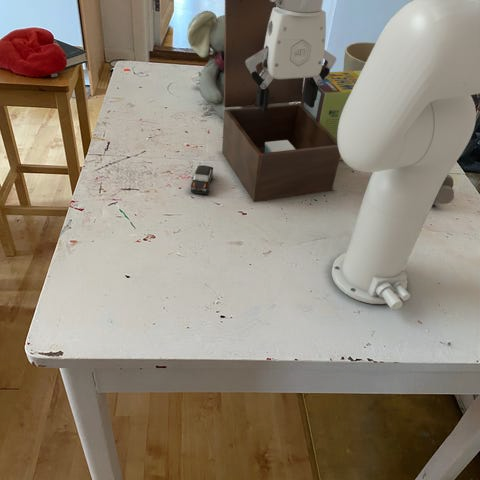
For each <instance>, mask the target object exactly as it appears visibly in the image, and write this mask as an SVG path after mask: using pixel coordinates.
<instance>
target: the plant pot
mask: <svg viewBox="0 0 480 480" xmlns="http://www.w3.org/2000/svg"><path fill="white" fill-rule="evenodd" d="M375 44H376V42H369V41H361V42H353V43H350V44H348V45H347V46H345V49H344V56H343V57H344V58H343V70H342V72H345V71H362V69H363V67H364V65H365V63H366V62H367V60H368V58H369V56H370V54H371V52H372V50H373V48H374V46H375Z"/></svg>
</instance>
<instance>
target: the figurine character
mask: <svg viewBox="0 0 480 480" xmlns="http://www.w3.org/2000/svg"><path fill="white" fill-rule="evenodd" d="M454 184H455V183H454V178H453V177H452V175H450V174H448V175H447V177H446V178H445V180H444V182H443V184H442V186H441V188H440V190H439V192H438V194H437V196H436V198H435V200H434V201H435V202H437V203H438V204H442V205H443V204H444V205H446V204H449V203H451V202H452V201H453V200H454V198H455V191H454V188H453V187H454ZM437 207H438V206H436V204H434V203H433V205H432V207H431V208H437Z"/></svg>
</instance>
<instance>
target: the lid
mask: <svg viewBox="0 0 480 480" xmlns="http://www.w3.org/2000/svg"><path fill="white" fill-rule="evenodd" d="M274 7H276V4H275V2H270V0H224V15H225V41H224V107H238V106H245V107H250V106H251V107H252V106H254V105H257V102H256V98H257V87H258V84H257V83H256V82H255V81H254V80H253V79H252V77H251V76H250V75H249V71H248V69H247V66H246V64H245V61H246V60H247V59H248V58H250V57H251V56H253V55H254V54H256V53H258V52H259V51H261V50H262V49H264V44H265V38H266V33H267V28H268V24H269V20H270V16H271V13H272V9H273V8H274ZM262 62H263V61H262ZM262 62H261V63H259V64H258V65H257V66H256V69H257V72H258V74H260V73H261V71H262V70H263V65H262ZM304 80H305V78H295V79H275V78H274V79H273V80H272V81H271V82H270V84H269V85H268V86H267V88H268V89H269V99H268V104H276V103H289V104H290V103H301V100H302V92H303V86H304Z"/></svg>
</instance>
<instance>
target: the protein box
mask: <svg viewBox="0 0 480 480" xmlns="http://www.w3.org/2000/svg"><path fill="white" fill-rule="evenodd" d="M360 73H361V71H345V72H343V71H330V73H329V74H328V75H327V76H326V77H325V78H324V79H323V80H322V84H321V85H319V87H318V93H317V99H316V101H315V104H314V107H313V108H310V107H309V106H308V105H307V104H306V103H305V102H304V96H305V90H306V83H307V81H308V80H310V77H309V78H304V82H303V91H302V100H301V102H300V104H301V105H302V106H303V107H304V108H305V109H306V110H307V111H308V112H309V113H310V114H311V115H312V116H313V117H314V118H315V119H316V120H317V121H318V122H319V123H320V124H321V125H322V126H323V127H324V128H325V129H326V130H327V131H328V132H329V133H330V134H331V135H332V136H333V137H334V138H335V139H336V140H337V131H338V124H339V120H340V117H341V114H342V111H343V108H344V106H345V104H346V101H347V99H348V97H349V95H350V93H351V91H352V89H353V87H354V85H355V83H356V81H357V79H358V77H359V75H360ZM341 161H344V160H343V159H342V157H341V156H340V160H339V162H341Z"/></svg>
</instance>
